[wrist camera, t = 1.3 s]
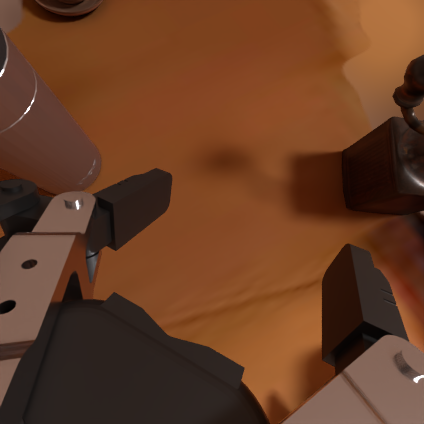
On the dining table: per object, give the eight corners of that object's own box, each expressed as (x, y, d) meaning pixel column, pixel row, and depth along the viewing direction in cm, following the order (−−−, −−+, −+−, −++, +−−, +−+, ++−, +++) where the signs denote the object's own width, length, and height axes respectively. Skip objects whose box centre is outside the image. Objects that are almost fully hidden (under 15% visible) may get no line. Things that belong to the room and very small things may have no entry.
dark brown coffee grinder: (397, 153, 38) (575, 63, 21) (405, 216, 36) (615, 173, 18) (312, 142, 37) (425, 35, 19) (314, 207, 34) (446, 151, 17)
